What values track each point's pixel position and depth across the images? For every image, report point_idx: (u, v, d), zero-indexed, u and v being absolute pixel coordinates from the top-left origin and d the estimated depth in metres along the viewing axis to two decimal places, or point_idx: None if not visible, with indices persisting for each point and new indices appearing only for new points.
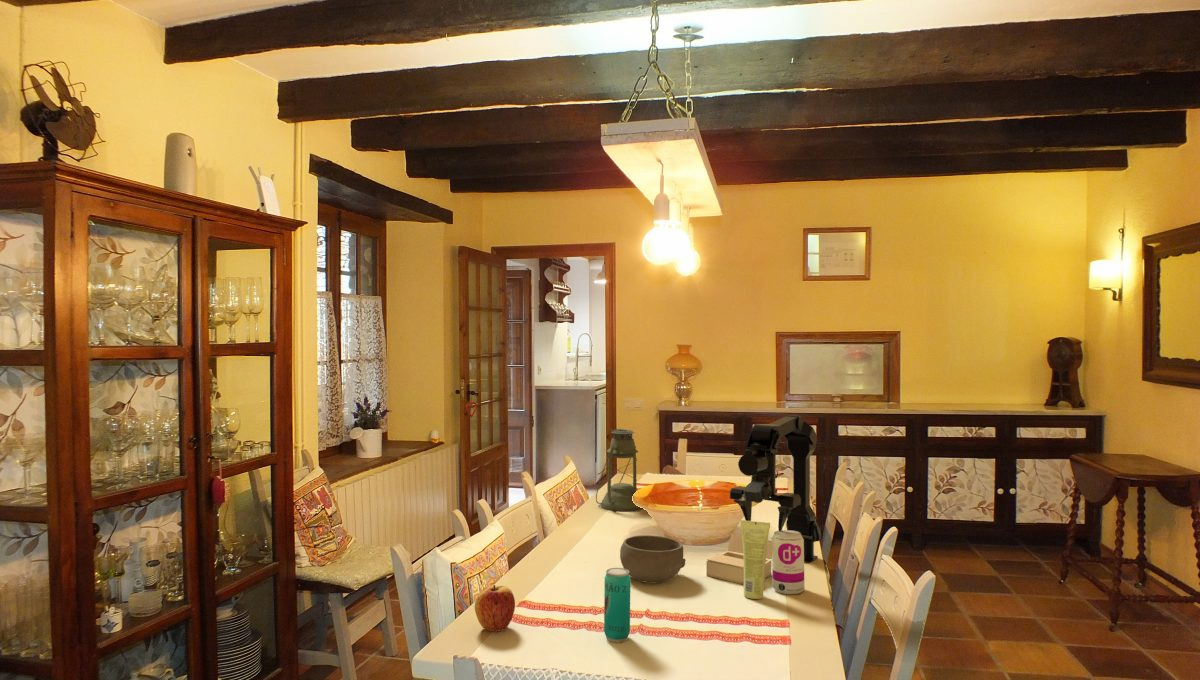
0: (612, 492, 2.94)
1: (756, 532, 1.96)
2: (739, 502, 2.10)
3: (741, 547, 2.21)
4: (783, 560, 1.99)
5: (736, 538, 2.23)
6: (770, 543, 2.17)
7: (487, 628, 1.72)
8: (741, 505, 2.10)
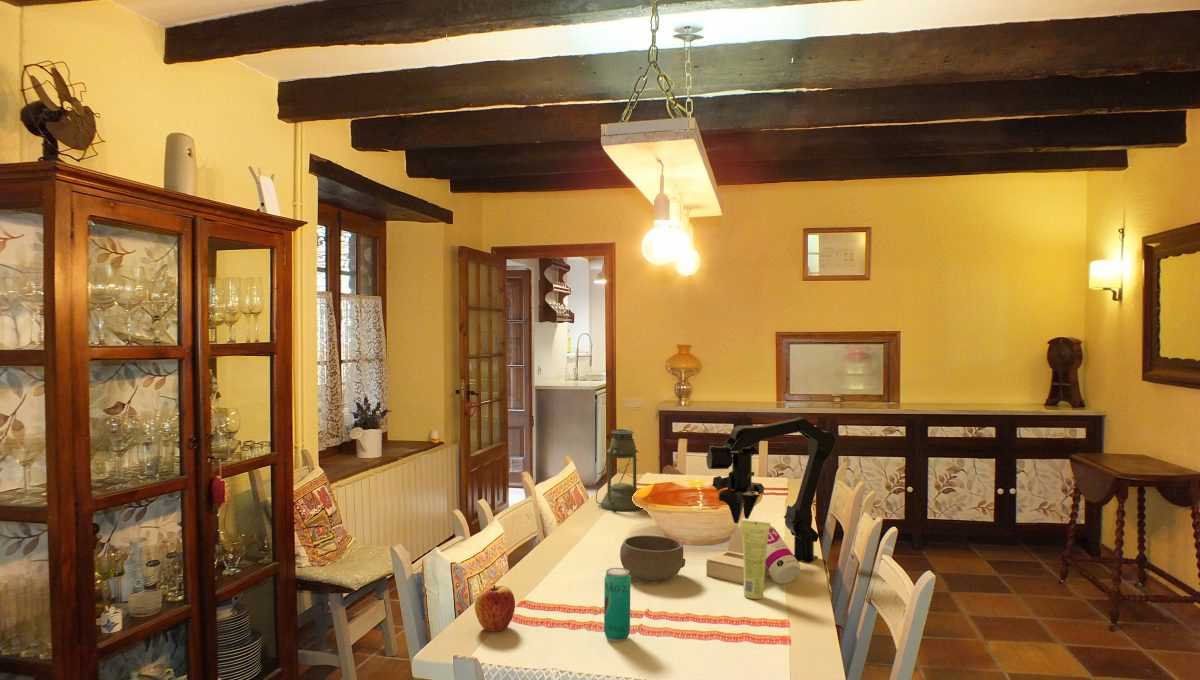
0: (612, 492, 2.94)
1: (756, 532, 1.96)
2: None
3: (741, 547, 2.21)
4: (769, 542, 2.08)
5: (736, 538, 2.23)
6: None
7: (487, 628, 1.72)
8: None
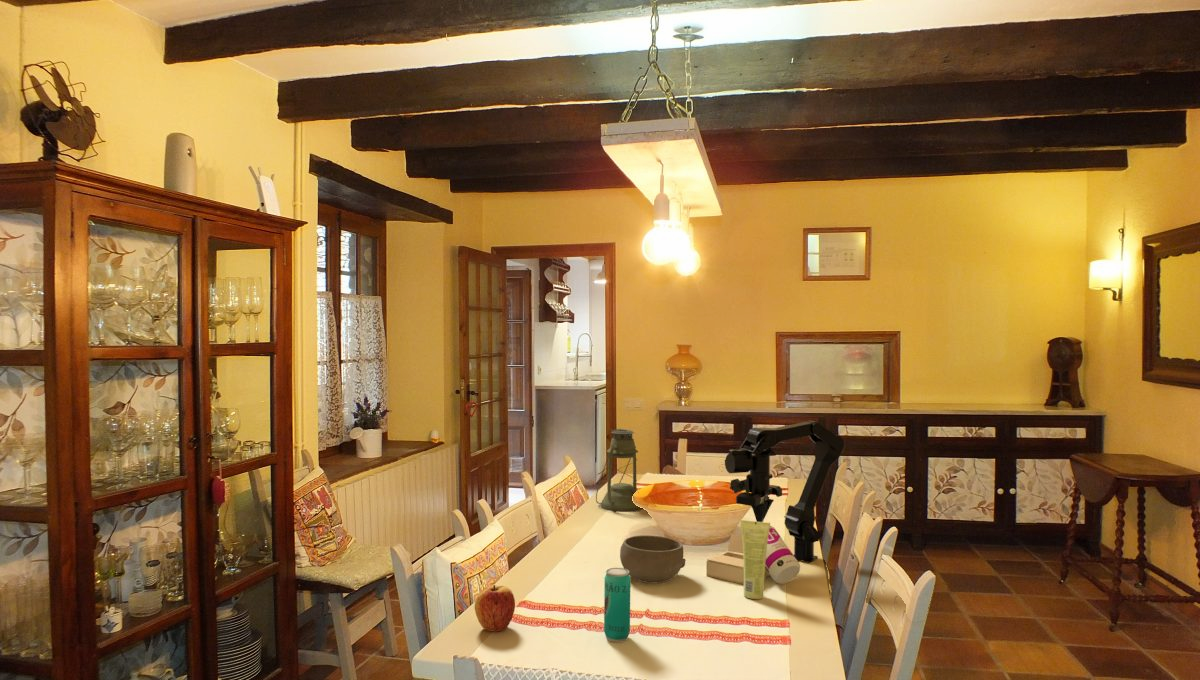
0: (612, 492, 2.94)
1: (756, 532, 1.96)
2: None
3: (741, 547, 2.21)
4: (769, 542, 2.08)
5: (736, 538, 2.23)
6: None
7: (487, 628, 1.72)
8: None
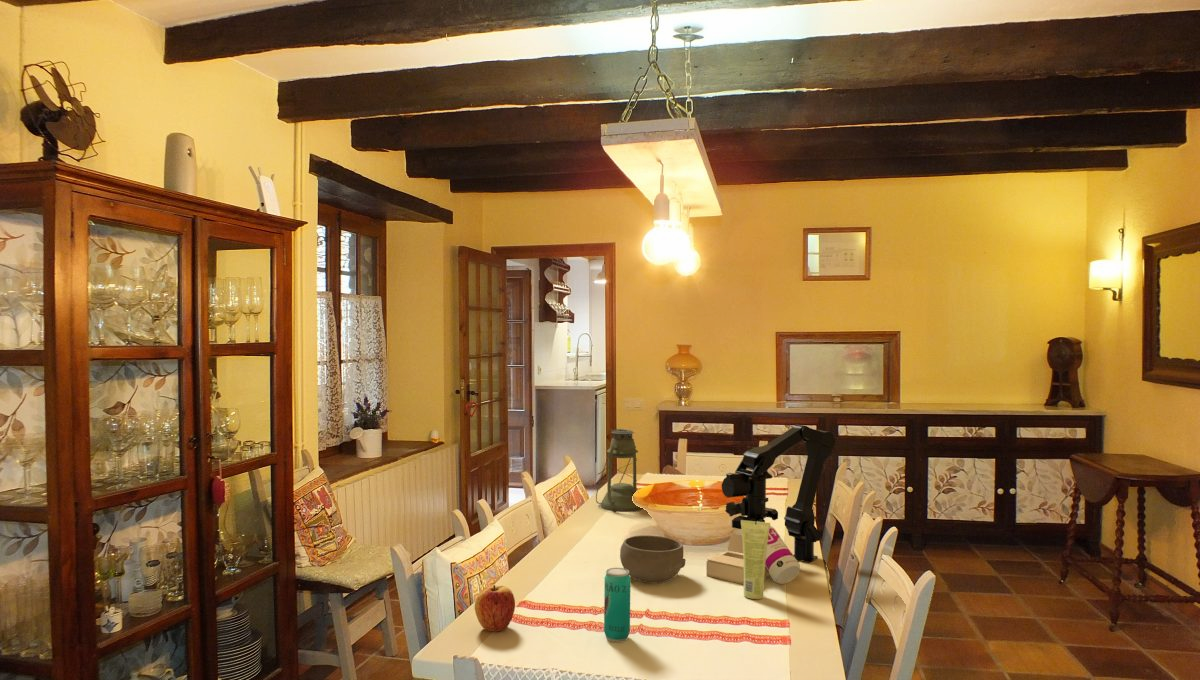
0: (612, 492, 2.94)
1: (756, 532, 1.96)
2: None
3: (741, 547, 2.21)
4: (768, 542, 2.08)
5: (735, 538, 2.23)
6: None
7: (487, 628, 1.72)
8: None
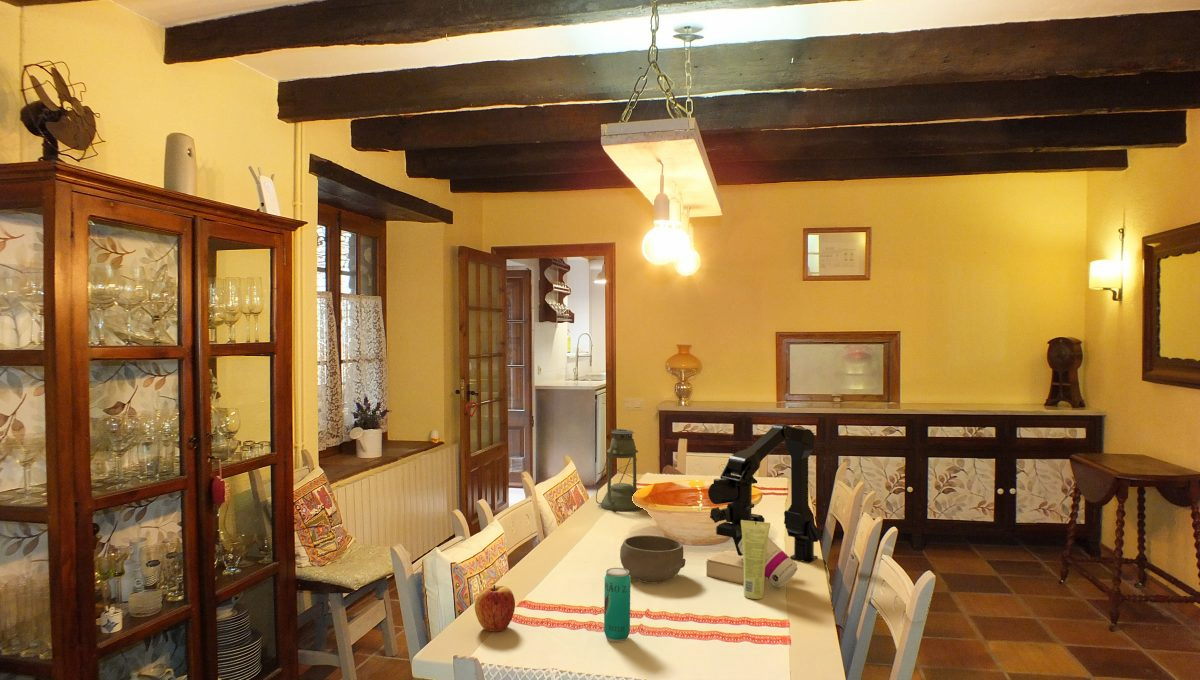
0: (612, 492, 2.94)
1: (756, 532, 1.96)
2: None
3: None
4: None
5: None
6: None
7: (487, 628, 1.72)
8: None
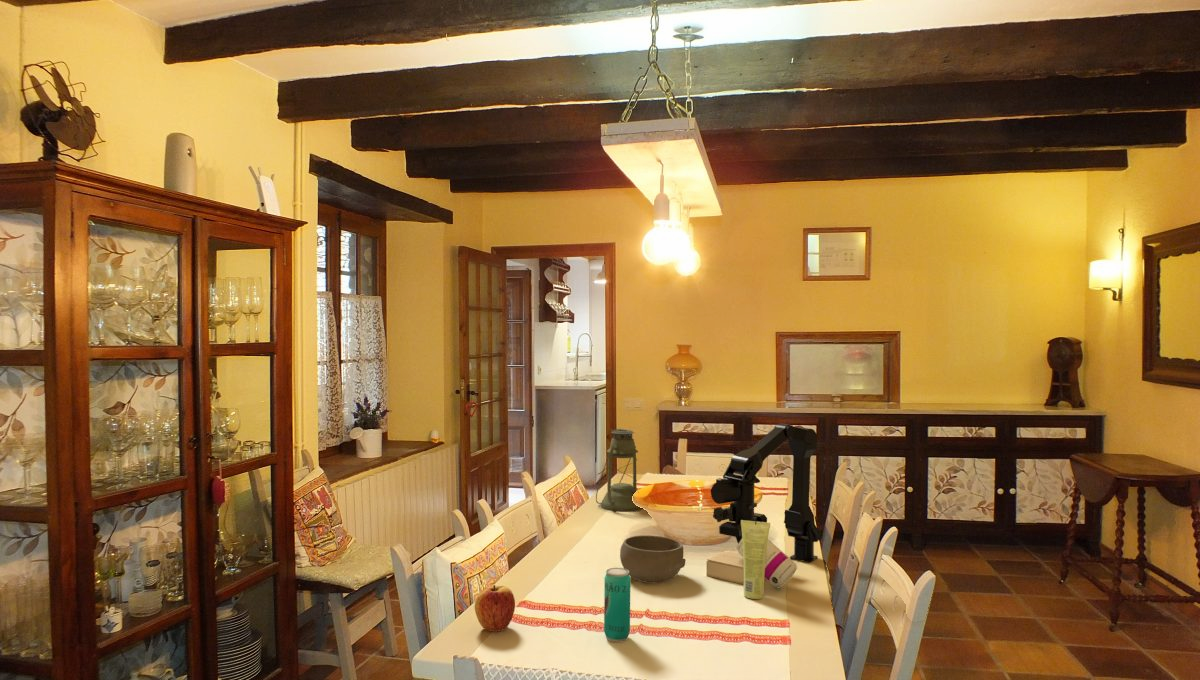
0: (612, 492, 2.94)
1: (756, 532, 1.96)
2: None
3: None
4: None
5: None
6: None
7: (487, 628, 1.72)
8: None
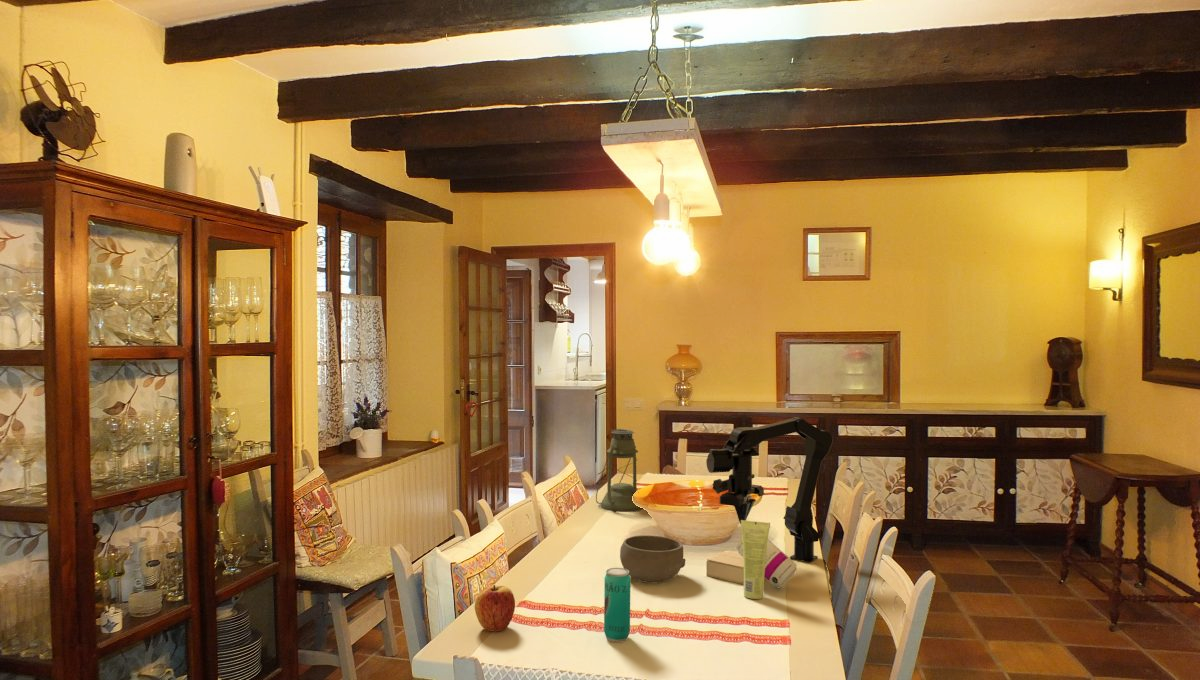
0: (612, 492, 2.94)
1: (756, 532, 1.96)
2: None
3: None
4: None
5: None
6: None
7: (487, 628, 1.72)
8: None
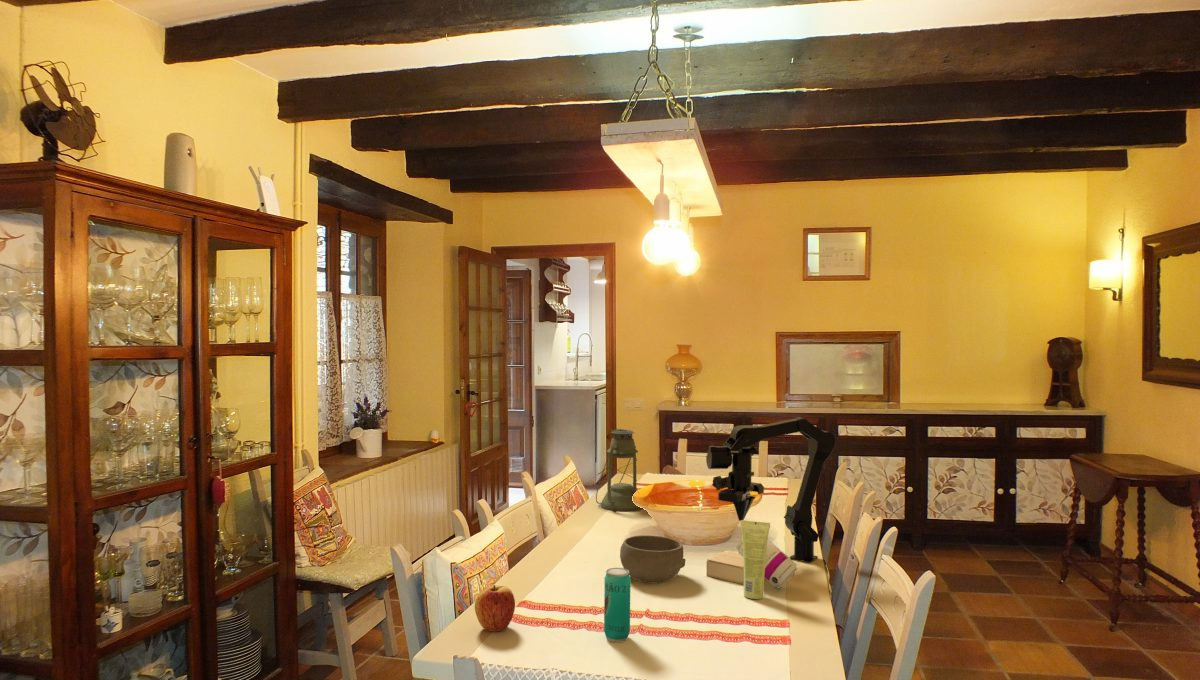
0: (612, 492, 2.94)
1: (756, 532, 1.96)
2: None
3: None
4: None
5: None
6: None
7: (487, 628, 1.72)
8: None
